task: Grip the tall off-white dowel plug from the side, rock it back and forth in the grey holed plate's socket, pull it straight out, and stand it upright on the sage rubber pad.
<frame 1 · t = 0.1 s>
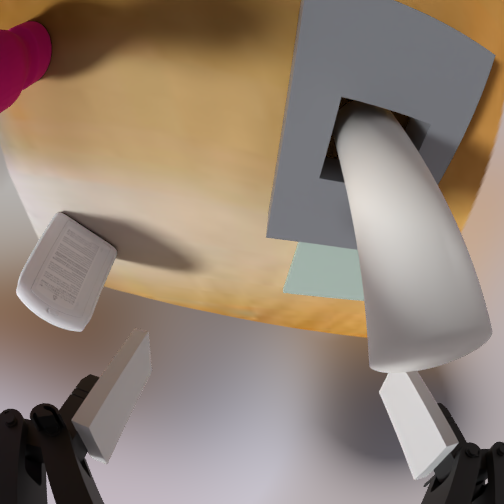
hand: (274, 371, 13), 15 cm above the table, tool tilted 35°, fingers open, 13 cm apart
grey holed plate: (365, 129, 18), on the table
pink bowling pin: (29, 51, 13), on the table
pad: (342, 267, 31), on the table
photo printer: (85, 233, 32), on the table
plug: (395, 201, 13), in the grey holed plate
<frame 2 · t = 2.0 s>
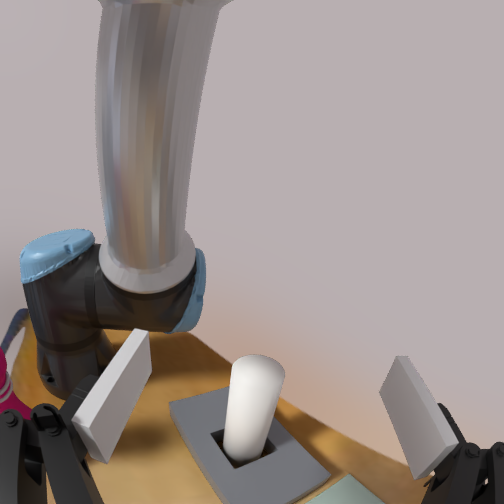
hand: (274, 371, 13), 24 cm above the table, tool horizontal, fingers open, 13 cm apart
grey holed plate: (241, 453, 30), on the table
pink bowling pin: (35, 450, 20), on the table
plug: (248, 420, 27), in the grey holed plate
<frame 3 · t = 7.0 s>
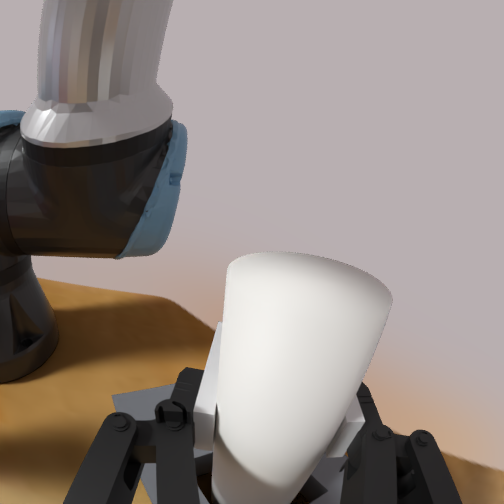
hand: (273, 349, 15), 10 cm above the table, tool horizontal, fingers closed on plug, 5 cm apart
grey holed plate: (249, 497, 13), on the table
plug: (270, 439, 11), in the grey holed plate, touching gripper
when the fingers open (11 cm above the table, at t = 15.1 s): plug drops 1 cm, resting on pad.
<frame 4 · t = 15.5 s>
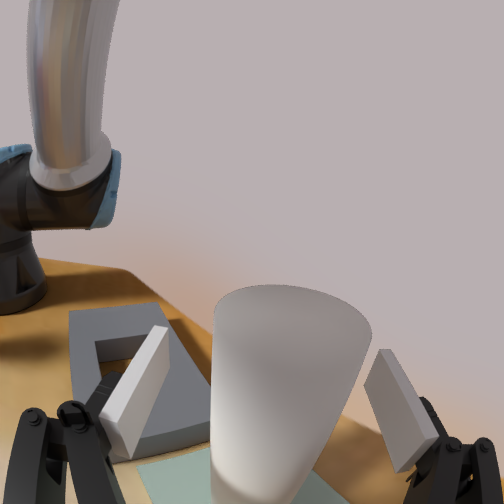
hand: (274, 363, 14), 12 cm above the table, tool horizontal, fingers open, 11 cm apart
grey holed plate: (130, 377, 25), on the table
plug: (262, 453, 11), on the pad, point 9 cm above the table
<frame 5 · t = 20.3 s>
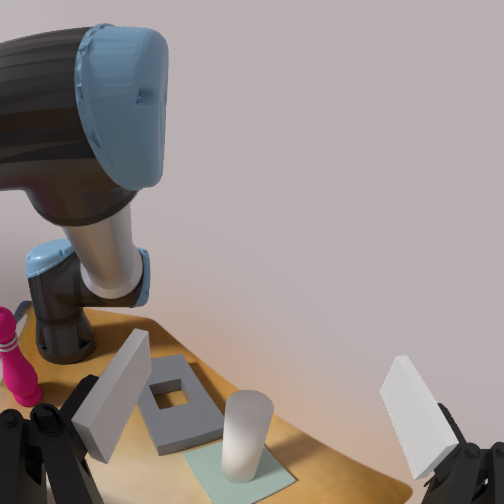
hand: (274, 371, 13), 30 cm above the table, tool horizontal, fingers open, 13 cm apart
grey holed plate: (171, 404, 43), on the table
pink bowling pin: (28, 396, 33), on the table
pad: (238, 471, 31), on the table
plug: (243, 444, 29), on the pad, point 9 cm above the table
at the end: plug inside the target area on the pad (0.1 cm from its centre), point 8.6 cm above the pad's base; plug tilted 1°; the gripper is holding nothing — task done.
